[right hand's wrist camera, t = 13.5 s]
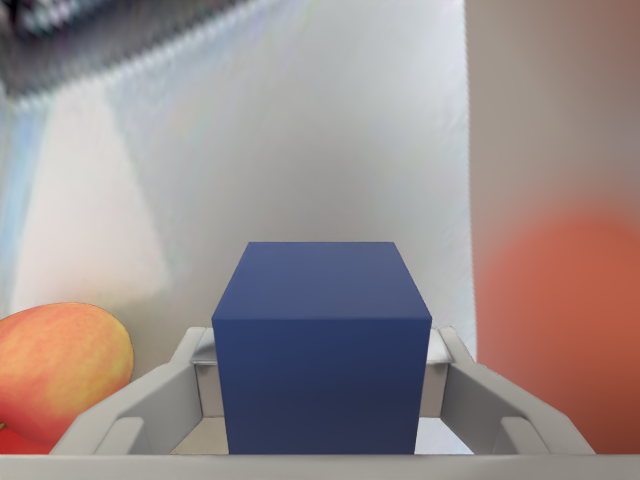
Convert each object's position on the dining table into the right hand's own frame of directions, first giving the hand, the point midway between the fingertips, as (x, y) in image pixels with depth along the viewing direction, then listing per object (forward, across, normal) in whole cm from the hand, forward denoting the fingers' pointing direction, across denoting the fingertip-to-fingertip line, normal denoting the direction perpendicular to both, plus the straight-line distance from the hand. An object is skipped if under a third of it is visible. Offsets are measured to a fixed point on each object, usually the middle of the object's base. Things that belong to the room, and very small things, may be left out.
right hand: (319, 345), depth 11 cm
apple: (+15, +18, +10) cm, 25 cm away
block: (+2, 0, 0) cm, 2 cm away
